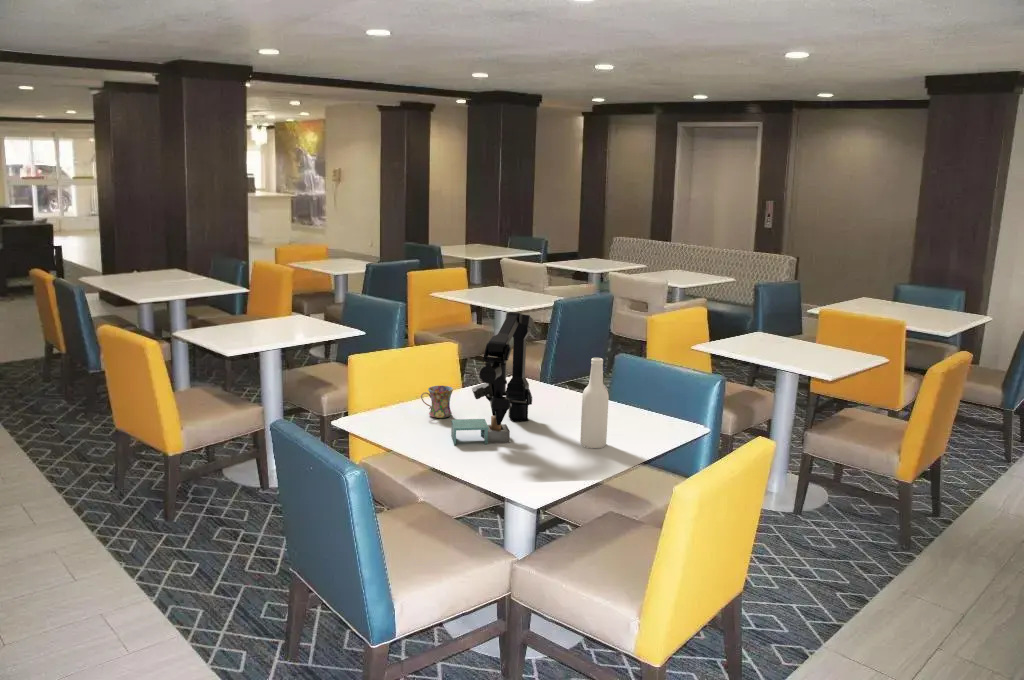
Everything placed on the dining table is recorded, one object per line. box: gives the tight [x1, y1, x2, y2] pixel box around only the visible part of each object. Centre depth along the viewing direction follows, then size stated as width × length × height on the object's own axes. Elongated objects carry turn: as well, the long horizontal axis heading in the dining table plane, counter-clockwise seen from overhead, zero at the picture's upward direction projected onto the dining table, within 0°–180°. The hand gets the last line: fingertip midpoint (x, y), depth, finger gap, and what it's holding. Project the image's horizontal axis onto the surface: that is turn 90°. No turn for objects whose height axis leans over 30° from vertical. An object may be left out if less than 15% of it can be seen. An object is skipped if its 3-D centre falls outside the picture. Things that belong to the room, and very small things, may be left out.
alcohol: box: [579, 357, 610, 449], centre depth 279 cm, size 9×9×30 cm
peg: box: [490, 415, 502, 430], centre depth 285 cm, size 4×4×8 cm
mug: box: [420, 385, 454, 419], centre depth 309 cm, size 12×9×11 cm
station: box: [450, 418, 511, 446], centre depth 284 cm, size 19×10×6 cm, turn 100°
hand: (496, 420), depth 284 cm, fingers open, 9 cm apart
